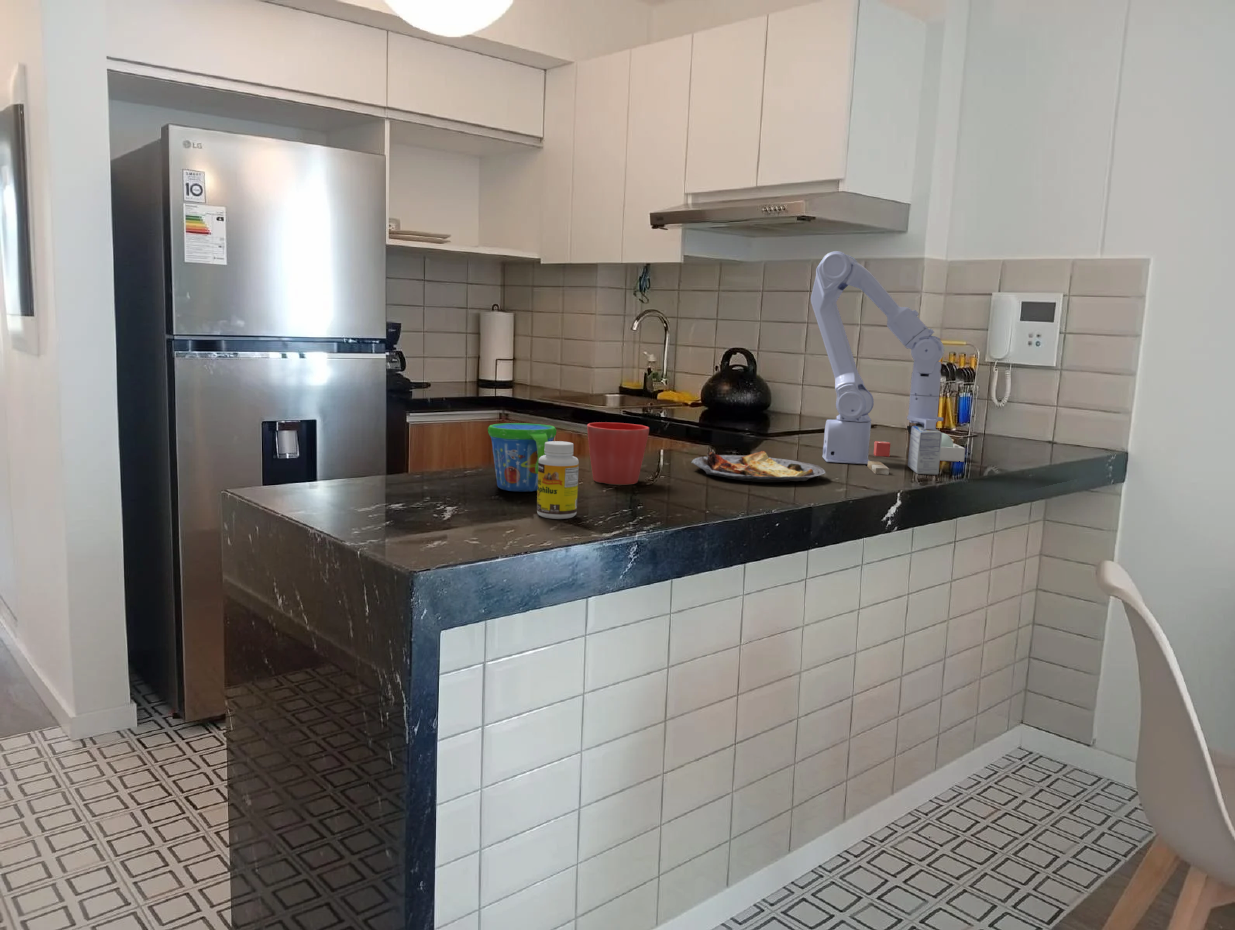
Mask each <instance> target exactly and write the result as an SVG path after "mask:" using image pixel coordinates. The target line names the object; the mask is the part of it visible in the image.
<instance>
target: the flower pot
mask: <svg viewBox="0 0 1235 930" xmlns="http://www.w3.org/2000/svg"><path fill="white" fill-rule="evenodd" d="M586 427H587V428H586V429H587V431H586V432H587V440H588V441H587V442H588V449H589V450H588V451H589V458H590V467H591V472H592V473H591V474H592V480H593V481H594V482H596V483H600V484H606V485H614V486H615V485H616V486H627V485H630V486H631V485H635V484H637V483H638V482H639V478H640V473H641V470H642V464H643V461H644V455H645V452H646V447H647V443H648V439H649V438H648V437H649V433H650V427H649V426H646V425H643V424H634V423H626V422H625V423H624V422H607V421H605V422H602V421H601V422H600V421H599V422H597V421H596V422H589V423H587V425H586Z"/></svg>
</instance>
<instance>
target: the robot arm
mask: <svg viewBox="0 0 1235 930" xmlns="http://www.w3.org/2000/svg"><path fill="white" fill-rule="evenodd" d="M848 286H850V287H854V288H856V289H858V290H861V291H862V292H863V293H864V294H865V295H866V296H867V297H868V298H869V299H870V300H871V301H872V302H873V303H874V304H875V306H876V307H877V308H878V309H879V310H880V311H881V313H883V314H884V315H885V316H886V318H887V319H886V327H887V328H888V330H889V331H891V332H892V334H893V335H894V337H896V339H898V340H899V341H900V343H901V344H902V345H903V346H904V347H905V348H906V349H910V355H911V357H912V360H913V365H912V372H911V379H910V380H911V381H910V393H909V401H908V402H909V403H908V404H909V405H908V415H907V416H906V420H908V421H909V423H910V424H915V426H923V427H924V429H931V430H935V429H937V430H938V427H937V426H936V425H937V423H938V422H944V417H943V416H942V417H941V416H938V414H939V402H940V401H939V400H940V389H941V379H942V378H941V377H942V373H941V369H942V361H941V360H942V358H943V357H944V355H945V346H944V343H943V342H942V341H941V338H940V337H938V336H935V335H933V334H934V333H935V331H934V329H932V328H930V329H929V328H928V327H927V325H926V324H925V323H924V322H923V321H922V320H921V319H920V317H919V314H920V313H919V312H918V311H917V310H916V309H913V310H912V309H911V308H910V307H908V306H900V305H899V304H898V303H897V302H896V300H895V299H894V298H893V297H892V296H891V295H890V294H889V292H888V291H887V289H885V287H883V285H882V284H881V282H879V280H878V279H877V278H876V277H875V276H874V275H873V273H871V271H870V270H868V269H867V268H866V267H865V266H863V265H862V264H861V263H859V262H858V261H857V259H856V258H854V257H853V256H851V255H849V254H846V253H844V252H843V251H839V250H838V251H837V250H834V251H831V252H828V253H827V254H825V255H824V256H823V258H822V260H820V262H819V264H818V266H817V267H816V269H815V278H814V282H813V287H812V290H811V291H812V292H811V295H810V303H811V306H812V310H813V312H814V316H815V319H816V321H817V326H818V328H819V329H818V330H819V332H820V335H821V338H822V341H823V344H824V347H825V351H826V354H827V358H828V361H829V364H830V366H831V370H832V374H833V377H834V382H835V383H834V390H835V393H836V401H835V408H836V412H837V413H838V415H836V419H826V421H825V424H824V425H825V426H824V436H823V446H822V456H821V457H822V458H823V460H824V461H825V462H826V463H838V464H839V463H840V464H858V465H868V461H871V460H870V459H869V453H870V452H869V451H870V441H871V430H872V429H871V428H872V418H871V417H870V415H869V413H871V411H872V410H873V408H874V401H875V399H874V396H873V395H872V393H871V392H870V390H868V388H866V386H865V383H864V380H863V379H862V377H861V375H860V373H859V371H858V368H857V365H856V361H855V358H854V355H853V352H852V348H851V346H850V342H849V339H848V336H847V332H846V329H845V326H844V323H843V320H842V316H841V314H840V310H839V308H838V303H837V302H838V300H839V298H840V297H841V296H842V293H843V292H844V291H845V289H846V288H847V287H848ZM912 426H913V425H906V429H907V432H908V434H909V436H910V435H911V428H912Z"/></svg>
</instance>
